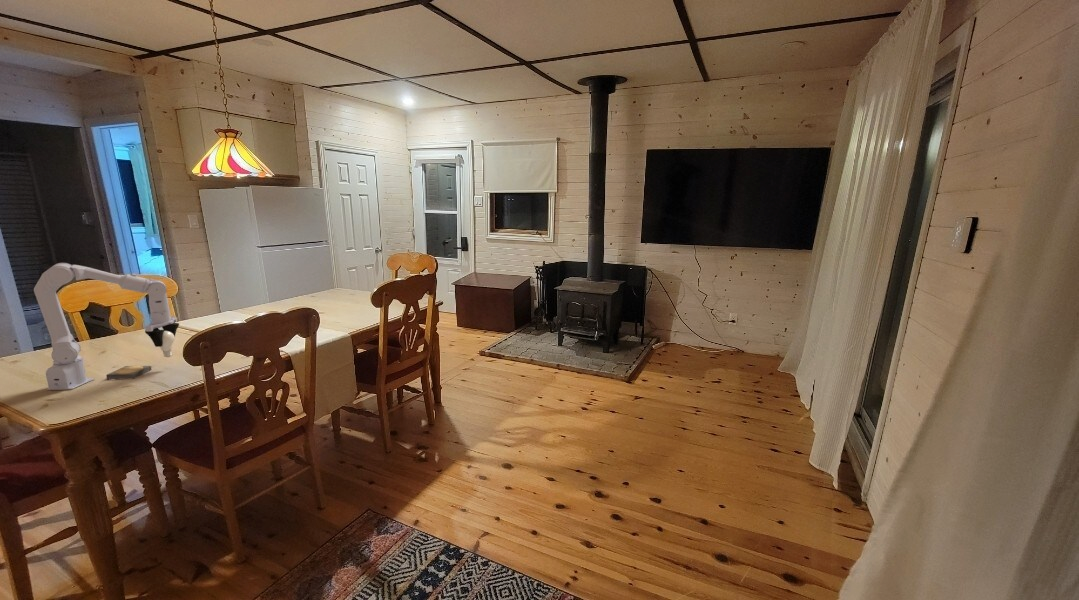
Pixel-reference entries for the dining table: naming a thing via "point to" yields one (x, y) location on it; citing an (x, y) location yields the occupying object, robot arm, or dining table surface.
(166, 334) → the lightbulb
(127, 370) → the charcoal base
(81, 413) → the dining table surface
